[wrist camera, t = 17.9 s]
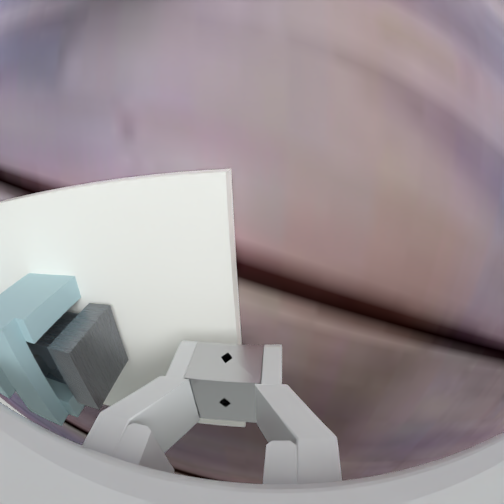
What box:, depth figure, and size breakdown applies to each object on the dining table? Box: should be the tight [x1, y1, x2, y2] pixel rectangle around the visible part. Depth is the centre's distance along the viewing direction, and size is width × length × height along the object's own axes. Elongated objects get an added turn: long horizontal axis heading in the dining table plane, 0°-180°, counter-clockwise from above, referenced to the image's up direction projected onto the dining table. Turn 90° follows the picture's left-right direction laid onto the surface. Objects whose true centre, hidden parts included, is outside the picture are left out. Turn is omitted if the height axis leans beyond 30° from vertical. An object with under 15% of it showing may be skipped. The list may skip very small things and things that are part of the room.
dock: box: [0, 169, 246, 427], centre depth 9 cm, size 21×11×5 cm, turn 92°
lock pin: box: [26, 303, 129, 410], centre depth 9 cm, size 8×3×3 cm, turn 92°
